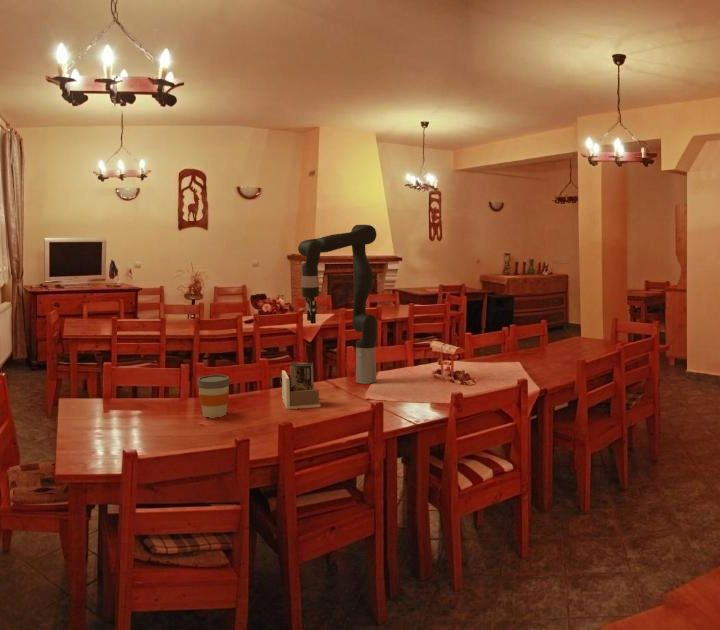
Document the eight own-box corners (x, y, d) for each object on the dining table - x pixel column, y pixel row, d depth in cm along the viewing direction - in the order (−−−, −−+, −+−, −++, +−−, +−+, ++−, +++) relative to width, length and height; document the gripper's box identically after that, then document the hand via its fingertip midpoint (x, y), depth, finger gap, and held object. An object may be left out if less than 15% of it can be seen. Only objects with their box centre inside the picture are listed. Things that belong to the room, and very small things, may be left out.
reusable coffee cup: (217, 408, 263) (216, 373, 261) (237, 414, 255) (236, 377, 253) (192, 415, 254) (190, 378, 251) (211, 421, 246) (210, 383, 244)
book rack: (314, 397, 279) (313, 368, 278) (320, 406, 265) (320, 376, 263) (282, 399, 276) (281, 370, 274) (286, 409, 262) (286, 378, 260)
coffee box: (314, 399, 273) (313, 362, 271) (312, 403, 267) (311, 365, 265) (293, 398, 274) (292, 362, 272) (290, 402, 268) (289, 365, 265)
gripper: (321, 287, 276) (322, 323, 279) (315, 284, 290) (316, 319, 292) (304, 287, 274) (305, 324, 277) (299, 284, 288) (300, 320, 290)
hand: (311, 321), depth 284 cm, fingers open, 8 cm apart
